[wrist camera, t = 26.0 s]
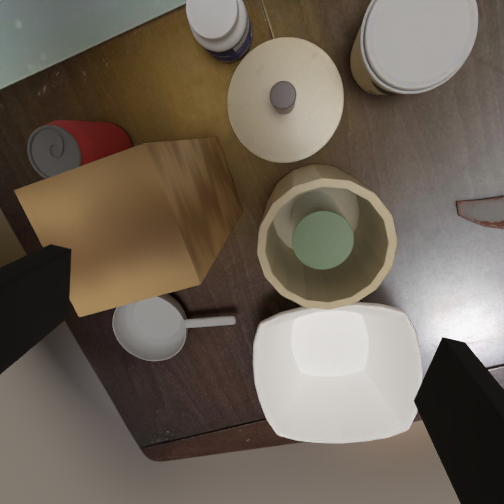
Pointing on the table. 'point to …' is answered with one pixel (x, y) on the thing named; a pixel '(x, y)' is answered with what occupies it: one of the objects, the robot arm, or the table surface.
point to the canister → (320, 231)
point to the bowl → (338, 372)
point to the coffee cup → (412, 44)
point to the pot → (357, 263)
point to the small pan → (157, 327)
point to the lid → (285, 100)
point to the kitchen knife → (483, 211)
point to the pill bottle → (221, 27)
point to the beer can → (73, 145)
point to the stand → (137, 220)
